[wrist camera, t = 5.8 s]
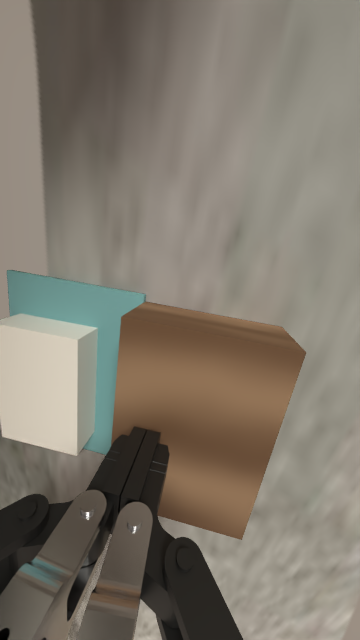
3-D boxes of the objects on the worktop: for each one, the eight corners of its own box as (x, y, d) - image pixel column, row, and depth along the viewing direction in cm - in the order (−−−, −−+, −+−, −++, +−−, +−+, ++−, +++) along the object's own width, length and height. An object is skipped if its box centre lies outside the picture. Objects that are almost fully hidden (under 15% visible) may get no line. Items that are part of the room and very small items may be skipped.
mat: (11, 269, 16) (6, 270, 16) (146, 294, 15) (144, 295, 15) (22, 428, 20) (18, 431, 20) (128, 456, 19) (126, 460, 19)
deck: (145, 301, 15) (121, 316, 11) (281, 327, 14) (306, 352, 10) (128, 451, 19) (106, 500, 15) (236, 479, 18) (241, 539, 14)
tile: (77, 339, 13) (97, 327, 16) (-11, 322, 14) (21, 313, 16) (77, 456, 16) (94, 431, 18) (2, 436, 17) (28, 415, 19)
